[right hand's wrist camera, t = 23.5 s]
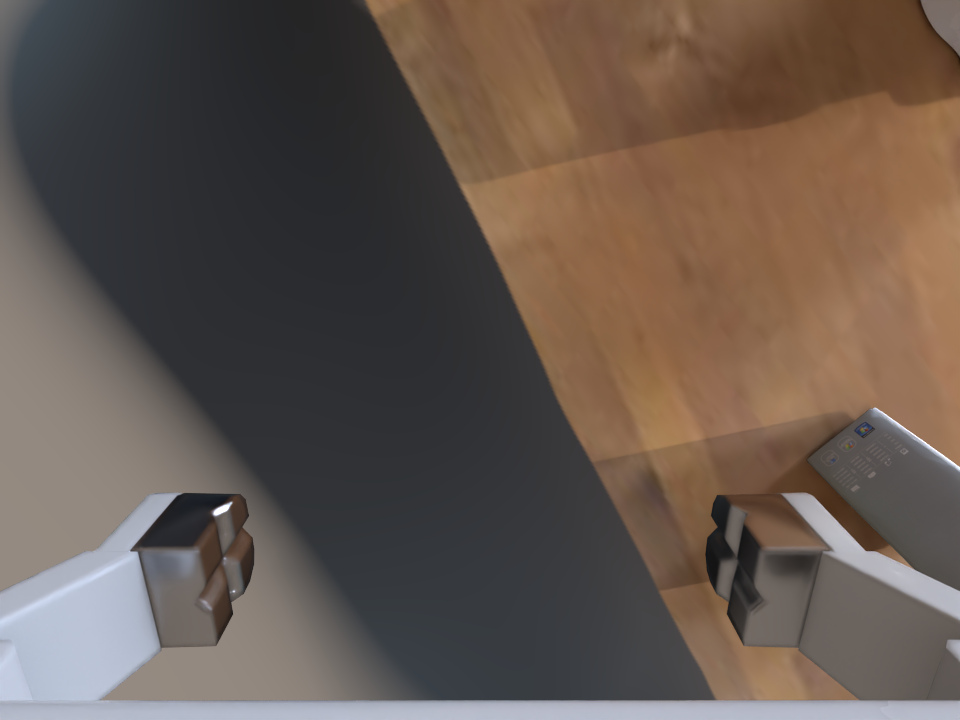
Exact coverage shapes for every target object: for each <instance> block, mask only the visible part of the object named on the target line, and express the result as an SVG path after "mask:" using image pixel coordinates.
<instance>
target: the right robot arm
mask: <svg viewBox="0 0 960 720" xmlns="http://www.w3.org/2000/svg"><path fill="white" fill-rule="evenodd" d="M921 3H922V7H923V9H924V12H925V14H926V16H927V18H928V20H929V22H930V23H931V25H932V27H933V28H934V29H935V31H936V32H937V33H938V34H939V35H940V36H941V37H942V38H943V39H944V40H945V41H946V42H947V43H948V44H949V45H950V46H951V47H952V48H953V49H954V50H955V51H956V52H957V53H958V55H959V56H960V0H921ZM248 517H249V514H248V509H247V504H246V499H245V498H244V497H243V496H242V495H241V494H205V493H183V494H182V493H154V494H150V495H148V496H147V497H146V498H145V499H144V500H143V501H142V502H141V503H140V504H139V505H138V506H137V507H136V508H135V509H134V510H133V511H132V512H131V513H130V514H129V515H128V516H127V518H126V519H125V520H124V521H123V522H122V523H121V524H120V525H119V526H118V527H117V528H116V529H115V530H114V531H113V532H112V533H111V534H110V535H109V536H108V537H107V539H106V540H105V541H104V542H103V543H102V544H101V545H100V546H99V547H98V548H97V549H96V550H95V551H85V552H82V553H80V554H78V555H76V556H74V557H72V558H70V559H67V560H65V561H63V562H61V563H59V564H57V565H55V566H53V567H51V568H48V569H46V570H44V571H42V572H40V573H38V574H36V575H34V576H31V577H30V578H27V579H25V580H23V581H21V582H19V583H17V584H15V585H12V586H10V587H8V588H6V589H4V590H2V591H0V720H960V591H958V590H956V589H954V588H952V587H949V586H947V585H945V584H943V583H941V582H939V581H937V580H935V579H933V578H931V577H928V576H926V575H924V574H922V573H920V572H918V571H916V570H914V569H912V568H909V567H907V566H905V565H903V564H901V563H899V562H897V561H895V560H893V559H890V558H888V557H886V556H884V555H882V554H880V553H878V552H876V551H865V550H864V549H863V548H862V547H861V546H860V545H859V544H858V543H857V542H856V541H855V539H854V538H853V537H852V536H851V535H850V534H849V533H848V532H847V531H846V530H845V529H844V528H843V527H842V526H841V525H840V524H839V523H838V522H837V521H836V520H835V518H834V517H833V516H832V515H831V514H830V513H829V512H828V511H827V510H826V509H825V508H824V507H823V506H822V505H821V504H820V503H819V502H818V501H817V500H816V498H815V497H814V496H812V495H810V494H808V493H777V494H747V495H717V497H716V499H715V501H714V503H713V508H712V513H711V517H712V518H713V520H714V521H715V523H716V525H717V526H718V527H717V529H716V530H715V531H714V532H713V533H712V534H711V535H710V536H709V537H708V538H707V546H706V564H707V572H708V575H709V579H710V582H711V584H712V586H713V588H714V590H715V592H716V594H717V595H719V596H720V597H722V598H723V599H725V600H726V601H728V602H729V605H728V610H727V615H728V617H729V619H730V621H731V623H732V625H733V626H734V628H735V630H736V632H737V634H738V636H739V638H740V640H741V641H742V643H743V645H744V646H759V647H794V648H799V649H798V650H799V651H800V652H801V653H802V654H804V655H805V656H806V657H807V658H809V659H810V660H811V661H812V662H814V663H815V664H816V665H817V666H818V667H820V668H821V669H822V670H823V671H825V672H826V673H827V674H828V675H829V676H831V677H832V678H833V679H834V680H836V681H837V682H838V683H839V684H841V685H842V686H843V687H844V688H845V689H847V690H848V691H849V692H850V693H852V694H853V695H854V696H855V697H856V698H858V699H859V700H780V701H413V700H410V701H409V700H372V701H371V700H366V701H365V700H357V701H356V700H354V701H353V700H348V701H347V700H338V701H337V700H336V701H335V700H319V701H317V700H316V701H315V700H311V701H310V700H295V701H294V700H287V701H285V700H284V701H283V700H282V701H279V700H274V701H273V700H272V701H271V700H269V701H268V700H267V701H266V700H265V701H261V700H259V701H258V700H257V701H256V700H255V701H254V700H249V701H102V700H101V699H102V698H104V697H105V696H106V695H107V694H109V693H110V692H111V691H112V690H113V689H115V688H116V687H117V686H118V685H120V684H121V683H122V682H123V681H125V680H126V679H127V678H128V677H129V676H131V675H132V674H133V673H134V672H136V671H137V670H138V669H139V668H141V667H142V666H143V665H144V664H145V663H147V662H148V661H149V660H150V659H152V658H153V657H154V656H155V655H156V654H158V653H159V652H160V651H161V648H165V647H200V646H216V645H217V643H218V641H219V640H220V638H221V636H222V634H223V632H224V630H225V628H226V626H227V625H228V623H229V621H230V619H231V617H232V615H233V610H232V605H231V602H232V601H234V600H235V599H237V598H238V597H240V596H241V595H243V594H244V592H245V590H246V588H247V586H248V584H249V582H250V579H251V575H252V570H253V566H254V545H253V538H252V537H251V536H250V535H249V534H248V533H247V532H246V531H245V530H244V529H243V528H242V526H243V525H244V523H245V521H246V520H247V518H248Z"/></svg>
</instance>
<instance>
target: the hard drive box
mask: <svg viewBox="0 0 960 720" xmlns="http://www.w3.org/2000/svg"><path fill="white" fill-rule="evenodd" d="M807 461H808V463H809V464H810V465H811V466H812V467H813V468H814V469H815V470H816V471H817V472H818V473H819V474H820V475H821V476H822V477H823V478H824V479H825V480H826V481H827V482H828V483H829V484H830V485H831V486H832V487H833V488H834V489H835V490H836V491H837V492H838V493H839V494H840V495H841V496H842V497H843V499H844V500H845V501H846V502H847V503H848V504H849V505H851V506H852V507H853V508H854V509H855V510H856V511H857V512H858V513H859V514H860V515H861V516H862V517H863V518H864V519H865V520H866V521H867V522H868V523H869V524H870V525H871V526H872V527H873V528H874V529H875V530H876V531H877V532H878V533H879V534H880V535H881V536H882V537H883V538H884V539H885V540H886V541H887V542H888V543H889V544H890V545H891V546H892V547H893V548H894V549H895V550H896V551H897V552H898V553H899V554H900V555H901V556H902V557H903V558H904V559H905V560H906V561H907V562H908V563H909V564H910V565H911V566H912V567H913V568H914V569H915V570H916V571H918V572H920V573H922V574H924V575H926V576H928V577H931V578H933V579H935V580H937V581H939V582H941V583H943V584H945V585H947V586H949V587H952V588H954V589H956V590H958V591H960V467H959V466H957V465H956V464H954V463H953V462H952V461H950V460H949V459H947V458H946V457H945V456H943V455H942V454H940V453H939V452H938V451H936V450H935V449H933V448H932V447H931V446H929V445H928V444H926V443H925V442H924V441H922V440H921V439H919V438H918V437H917V436H915V435H914V434H912V433H911V432H909V431H908V430H907V429H905V428H904V427H903V426H901V425H900V424H898V423H897V422H896V421H894V420H893V419H891V418H890V417H888V416H887V415H885V414H884V413H883V412H881V411H880V410H878V409H876V408H873V409H869V410H868V411H867V412H865V413H864V414H863V415H861V416H860V417H859V418H858V419H856V420H855V421H854V422H853V423H852V424H850V425H849V426H848V427H846V428H845V429H844V430H843V431H841V432H840V433H839V434H838V435H836V436H835V437H834V438H833V439H831V440H830V441H829V442H828V443H826V444H825V445H824V446H823V447H821V448H820V449H819V450H818V451H816V452H815V453H814V454H813V455H811V456H810V457H809V458H808V459H807Z"/></svg>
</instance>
